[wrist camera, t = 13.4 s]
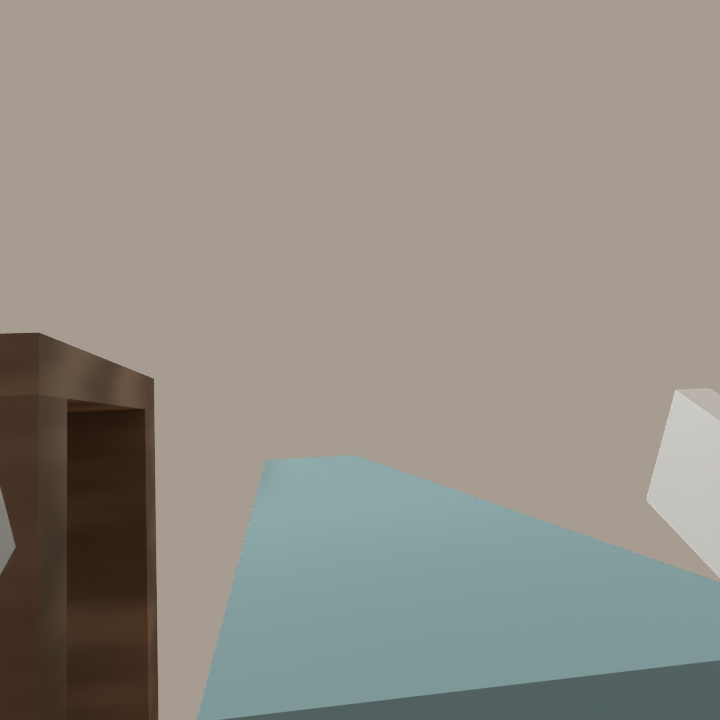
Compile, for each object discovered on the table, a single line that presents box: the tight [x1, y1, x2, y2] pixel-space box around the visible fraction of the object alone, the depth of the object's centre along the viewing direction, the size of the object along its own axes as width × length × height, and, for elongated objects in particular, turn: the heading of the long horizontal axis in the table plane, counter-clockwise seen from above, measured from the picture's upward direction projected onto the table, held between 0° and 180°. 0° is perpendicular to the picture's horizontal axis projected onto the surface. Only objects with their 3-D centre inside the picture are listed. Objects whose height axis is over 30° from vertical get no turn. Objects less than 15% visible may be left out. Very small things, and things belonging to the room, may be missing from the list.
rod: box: [197, 455, 720, 720], centre depth 15 cm, size 24×4×4 cm, turn 8°
